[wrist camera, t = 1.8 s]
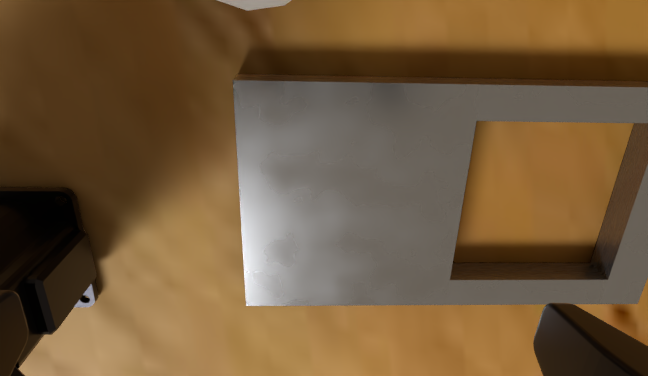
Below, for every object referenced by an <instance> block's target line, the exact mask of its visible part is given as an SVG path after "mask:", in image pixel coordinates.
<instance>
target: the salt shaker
mask: <svg viewBox="0 0 648 376" xmlns="http://www.w3.org/2000/svg"><path fill="white" fill-rule="evenodd" d="M217 1H220V2H223V3H226V4H229V5H232V6H235V7H238V8H241V9H244V10H247V11H249V10H256V9H263V8H270V7H277V6H284V5H286V4H287V3H289V2H290V1H291V0H217Z"/></svg>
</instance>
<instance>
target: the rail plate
mask: <svg viewBox="0 0 648 376" xmlns="http://www.w3.org/2000/svg"><path fill="white" fill-rule="evenodd" d="M233 93H234V110H235V127H236V144H237V160H238V177H239V194H240V211H241V228H242V245H243V262H244V279H245V296H246V306H322V305H512V304H549V303H570V304H638V301H639V299H640V296H641V293H642V291H643V288H644V286H645V283H646V280H647V278H648V81H603V80H547V79H492V78H436V77H380V76H325V75H269V74H238V75H237V76H236V77H235V78H234V79H233ZM476 121H521V122H595V123H634V126H633V130H632V133H631V136H630V139H629V142H628V145H627V148H626V152H625V155H624V158H623V161H622V164H621V167H620V171H619V174H618V177H617V180H616V183H615V186H614V189H613V193H612V196H611V199H610V202H609V205H608V208H607V212H606V215H605V218H604V221H603V224H602V227H601V231H600V234H599V237H598V240H597V243H596V246H595V249H594V253H593V256H592V259H591V262H590V263H453V258H454V252H455V246H456V241H457V235H458V229H459V223H460V217H461V211H462V205H463V199H464V193H465V187H466V181H467V175H468V169H469V163H470V157H471V151H472V145H473V139H474V133H475V127H476Z"/></svg>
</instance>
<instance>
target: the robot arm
mask: <svg viewBox="0 0 648 376" xmlns="http://www.w3.org/2000/svg"><path fill="white" fill-rule="evenodd" d="M60 196H62V197H64V198H65V199H66V200H67V203H66V202H63V201H62V200H61V199H60ZM96 276H97V274H96V269H95V265H94V260H93V256H92V251H91V247H90V242H89V238H88V234H87V233H86V232H85V231H84V229H83V224H82V220H81V215H80V211H79V206H78V202H77V198H76V195H75V194H74V192H73V191H71V190H70V189H68V188H28V187H0V376H25V375H24V374H23V373H22V372H21V371H20V370H19V369H18V368H19V367H20V366H21V364H22V363H23V362H24V361H25V359H26V358H27V357H28V355H29V354H30V353H31V351H32V350H33V349H34V348H35V346H36V345H37V344H38V342H39V341H40V340H41V338H42V337H43V336H44V335H46V334H53V333H54V332H55V331H56V330H57V329H58V328H59V326H60V325H61V324H62V322H63V321H64V320H65V318H66V317H67V316H68V314H69V313H70V312H71V310H72V309H73V308H74V307H90V306H92V305H93V304H94V303H95V301H96V300H97V298H98V291H97V287H96V282H95V278H96ZM84 295H86V296H88V297H89V298H86V297H85V296H84ZM533 344H534V351H535V355H536V357H537V360H538V363H539V365H540V368H541V371H542V373H543V376H648V346H646V345H645V344H643V343H641V342H639V341H638V340H636V339H634V338H632V337H630V336H629V335H627V334H625V333H623V332H622V331H620V330H618V329H616V328H614V327H613V326H611V325H609V324H607V323H606V322H604V321H602V320H600V319H598V318H597V317H595V316H593V315H591V314H590V313H588V312H586V311H584V310H582V309H581V308H579V307H577V306H575V305H573V304H570V303H549V304H547V305H546V306H545V307H544V309H543V311H542V315H541V318H540V321H539V324H538V327H537V330H536V333H535V336H534V343H533Z"/></svg>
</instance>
